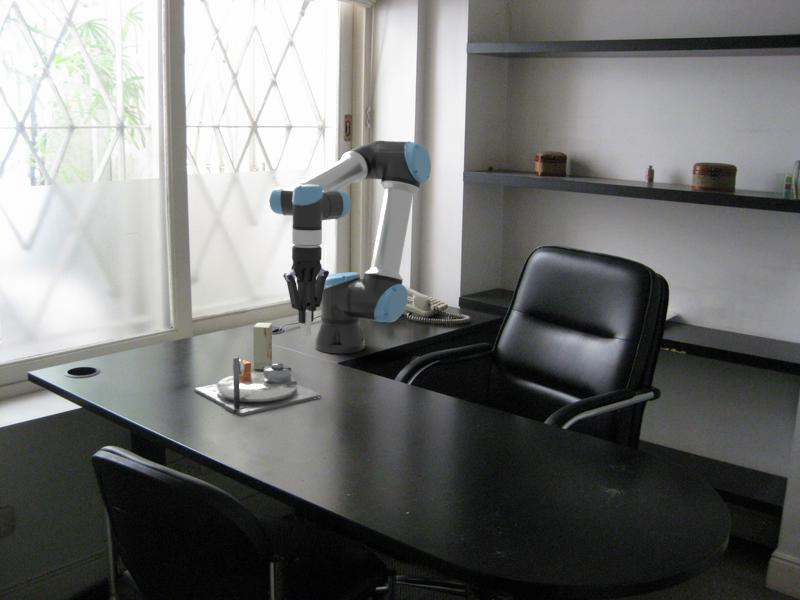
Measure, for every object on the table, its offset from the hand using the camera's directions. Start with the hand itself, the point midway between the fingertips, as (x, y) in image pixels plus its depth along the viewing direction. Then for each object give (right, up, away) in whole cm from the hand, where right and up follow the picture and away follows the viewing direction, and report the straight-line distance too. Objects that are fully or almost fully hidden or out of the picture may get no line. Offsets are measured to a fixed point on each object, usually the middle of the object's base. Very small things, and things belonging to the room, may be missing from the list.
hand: (305, 334), depth 224 cm
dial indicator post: (-15, -17, -18) cm, 29 cm away
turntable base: (-12, -15, -7) cm, 20 cm away
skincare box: (-14, -10, +17) cm, 24 cm away
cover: (-7, -12, -3) cm, 14 cm away
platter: (-12, -14, -7) cm, 19 cm away
